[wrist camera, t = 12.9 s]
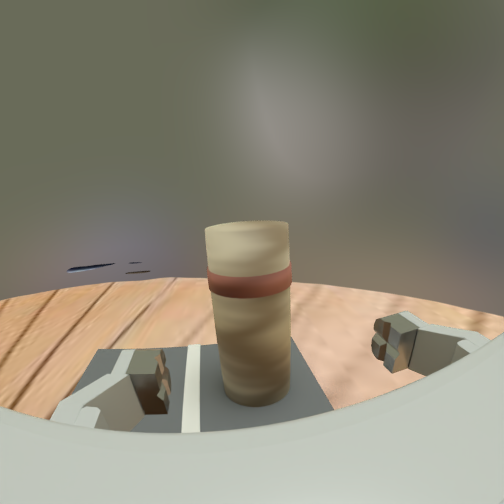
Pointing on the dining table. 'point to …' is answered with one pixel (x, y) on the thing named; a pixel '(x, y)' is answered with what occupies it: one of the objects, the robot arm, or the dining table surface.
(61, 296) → the dining table surface
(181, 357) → the lane mat
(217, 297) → the skittle
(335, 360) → the dining table surface
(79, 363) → the dining table surface
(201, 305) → the dining table surface
